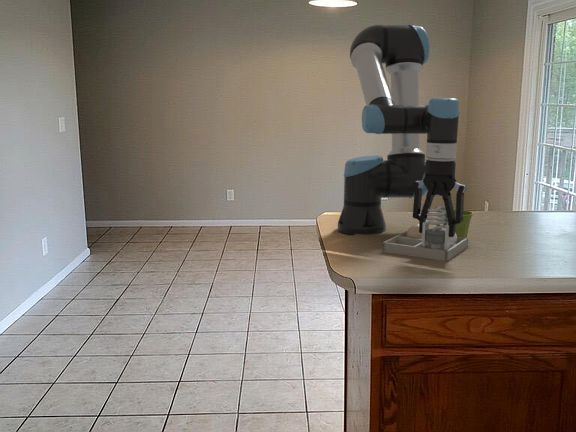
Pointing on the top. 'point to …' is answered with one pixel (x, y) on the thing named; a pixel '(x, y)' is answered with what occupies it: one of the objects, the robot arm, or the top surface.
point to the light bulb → (436, 234)
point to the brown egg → (414, 232)
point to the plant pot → (462, 224)
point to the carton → (415, 248)
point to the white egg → (453, 238)
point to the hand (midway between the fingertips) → (435, 246)
